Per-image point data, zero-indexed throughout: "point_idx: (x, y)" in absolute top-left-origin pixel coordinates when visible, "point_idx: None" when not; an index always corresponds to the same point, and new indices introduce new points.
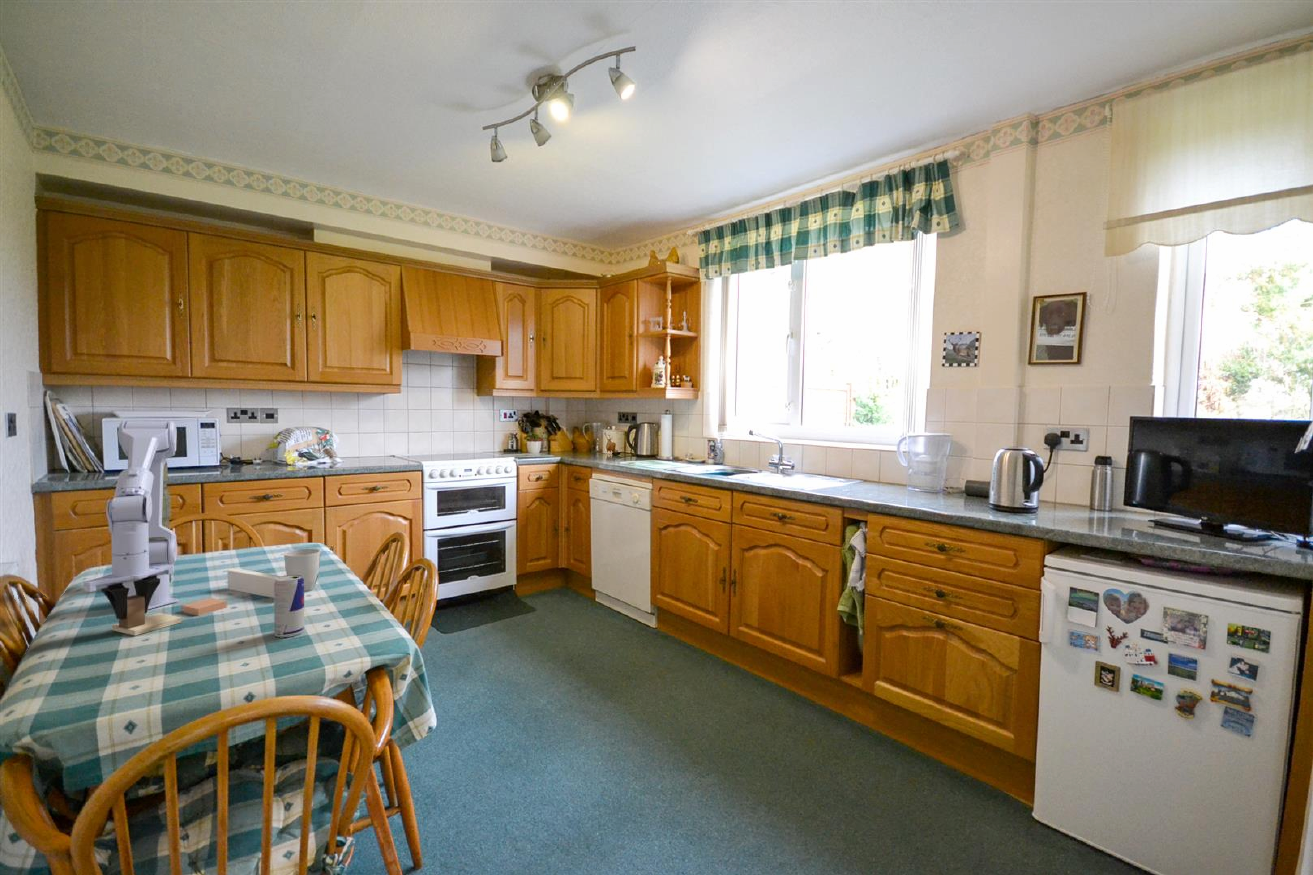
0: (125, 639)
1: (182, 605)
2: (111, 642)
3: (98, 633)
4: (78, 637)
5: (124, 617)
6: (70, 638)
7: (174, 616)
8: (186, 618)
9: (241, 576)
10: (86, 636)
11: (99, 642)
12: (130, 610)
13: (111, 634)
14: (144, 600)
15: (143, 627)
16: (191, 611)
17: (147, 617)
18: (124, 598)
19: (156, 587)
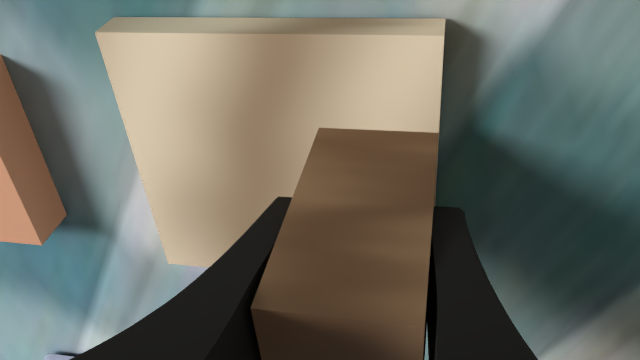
0: (521, 9)
1: (40, 240)
2: (607, 38)
3: (497, 278)
4: (584, 308)
5: (447, 212)
6: (609, 328)
7: (126, 110)
8: (72, 73)
9: None
10: (557, 288)
11: (628, 120)
12: (403, 235)
13: (481, 201)
14: (265, 273)
15: (362, 63)
16: (19, 139)
17: None
18: (469, 352)
19: (103, 345)
